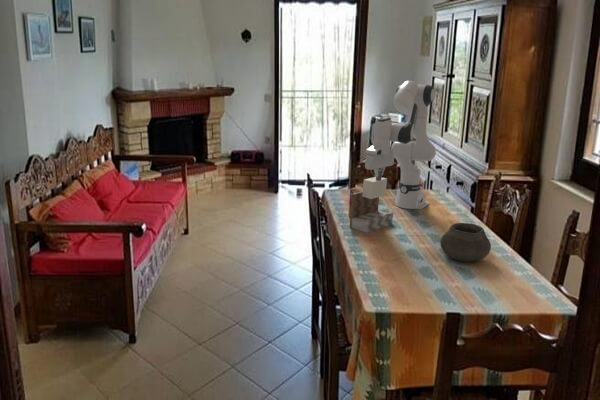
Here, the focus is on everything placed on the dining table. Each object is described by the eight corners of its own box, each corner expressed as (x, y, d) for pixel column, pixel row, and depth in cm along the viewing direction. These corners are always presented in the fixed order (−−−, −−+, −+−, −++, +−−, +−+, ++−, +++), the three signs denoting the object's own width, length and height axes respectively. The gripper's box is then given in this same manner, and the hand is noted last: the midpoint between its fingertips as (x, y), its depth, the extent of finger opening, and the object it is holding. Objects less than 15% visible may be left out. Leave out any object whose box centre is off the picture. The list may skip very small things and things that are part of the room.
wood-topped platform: (375, 218, 285) (377, 186, 280) (392, 223, 278) (395, 191, 272) (349, 226, 270) (351, 193, 265) (366, 232, 263) (369, 198, 257)
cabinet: (376, 192, 275) (378, 167, 271) (385, 195, 271) (387, 169, 267) (362, 196, 267) (364, 170, 263) (371, 199, 263) (373, 172, 259)
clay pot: (436, 262, 229) (440, 231, 225) (441, 246, 248) (445, 217, 244) (487, 271, 222) (492, 239, 217) (489, 254, 241) (493, 224, 237)
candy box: (364, 217, 286) (366, 191, 282) (359, 218, 284) (361, 192, 279) (353, 213, 293) (355, 187, 288) (348, 214, 290) (349, 188, 286)
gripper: (388, 146, 270) (385, 171, 274) (363, 150, 256) (361, 177, 260) (398, 148, 266) (395, 174, 270) (373, 152, 252) (371, 180, 256)
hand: (378, 175), depth 265 cm, fingers closed on cabinet
